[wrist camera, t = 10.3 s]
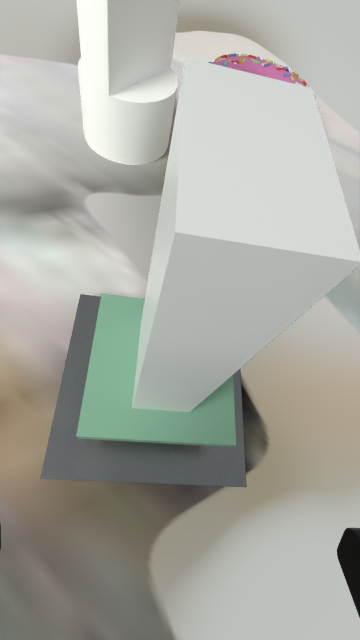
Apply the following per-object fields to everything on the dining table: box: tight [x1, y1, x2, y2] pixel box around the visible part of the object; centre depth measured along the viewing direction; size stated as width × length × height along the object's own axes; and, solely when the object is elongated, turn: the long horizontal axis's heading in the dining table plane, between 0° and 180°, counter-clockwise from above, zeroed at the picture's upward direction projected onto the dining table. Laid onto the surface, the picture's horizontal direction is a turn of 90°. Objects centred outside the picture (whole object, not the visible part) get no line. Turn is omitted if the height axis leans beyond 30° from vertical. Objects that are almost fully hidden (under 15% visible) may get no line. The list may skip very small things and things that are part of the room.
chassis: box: [40, 294, 246, 487], centre depth 20 cm, size 12×12×4 cm
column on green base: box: [76, 57, 360, 447], centre depth 12 cm, size 8×8×14 cm
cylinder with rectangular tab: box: [77, 0, 180, 165], centre depth 28 cm, size 9×9×12 cm
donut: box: [208, 53, 316, 99], centre depth 37 cm, size 14×14×5 cm
